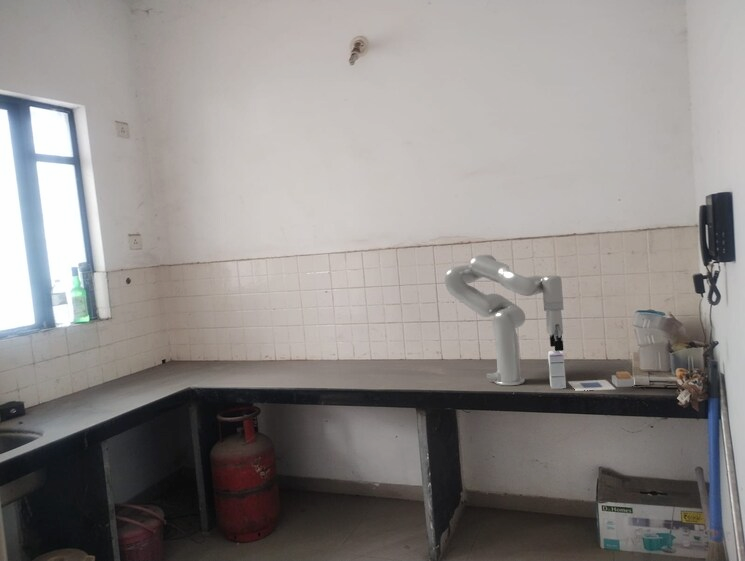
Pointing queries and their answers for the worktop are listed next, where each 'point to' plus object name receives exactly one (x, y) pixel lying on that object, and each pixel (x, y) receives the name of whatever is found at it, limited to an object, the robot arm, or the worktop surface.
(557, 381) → the syrup box
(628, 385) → the button housing
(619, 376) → the button
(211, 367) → the worktop surface
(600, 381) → the white square panel
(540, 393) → the worktop surface
